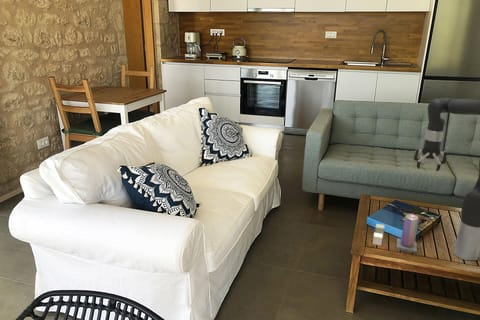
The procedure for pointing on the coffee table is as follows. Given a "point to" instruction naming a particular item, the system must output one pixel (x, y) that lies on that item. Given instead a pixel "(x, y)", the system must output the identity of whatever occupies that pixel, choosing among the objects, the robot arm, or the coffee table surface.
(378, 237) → the cream block
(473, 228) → the robot arm
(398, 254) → the coffee table surface
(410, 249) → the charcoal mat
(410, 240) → the beverage can
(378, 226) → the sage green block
